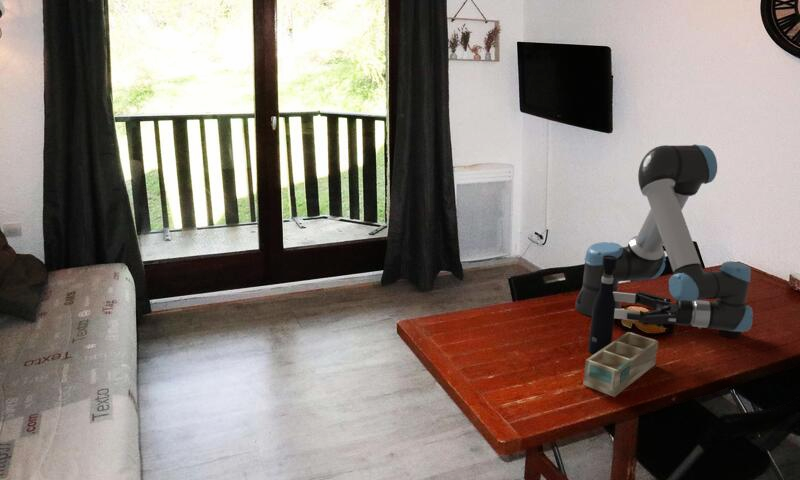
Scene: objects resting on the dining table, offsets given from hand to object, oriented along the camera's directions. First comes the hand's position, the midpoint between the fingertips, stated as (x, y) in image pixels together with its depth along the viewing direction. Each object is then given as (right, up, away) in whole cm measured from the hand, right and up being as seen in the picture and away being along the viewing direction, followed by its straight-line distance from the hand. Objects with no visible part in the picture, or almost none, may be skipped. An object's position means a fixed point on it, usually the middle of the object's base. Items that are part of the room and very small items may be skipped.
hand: (613, 304), depth 195 cm
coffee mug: (+44, -11, +21) cm, 50 cm away
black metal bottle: (-2, -15, +6) cm, 16 cm away
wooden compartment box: (-1, -19, -8) cm, 20 cm away
